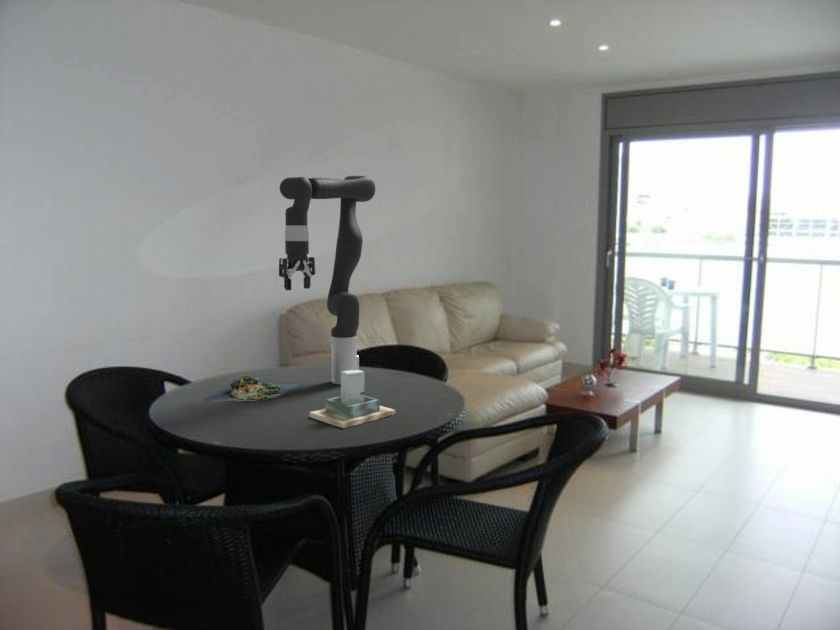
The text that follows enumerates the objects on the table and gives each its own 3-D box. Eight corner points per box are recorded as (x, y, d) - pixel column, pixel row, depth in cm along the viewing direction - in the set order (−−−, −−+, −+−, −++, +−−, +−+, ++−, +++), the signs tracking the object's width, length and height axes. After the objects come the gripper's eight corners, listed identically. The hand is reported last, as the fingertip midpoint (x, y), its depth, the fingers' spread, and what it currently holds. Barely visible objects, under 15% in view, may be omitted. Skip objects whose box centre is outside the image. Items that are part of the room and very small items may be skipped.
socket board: (360, 404, 213) (360, 389, 212) (395, 414, 202) (395, 398, 201) (309, 417, 198) (309, 400, 198) (343, 428, 187) (343, 411, 187)
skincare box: (347, 413, 197) (347, 373, 195) (340, 410, 200) (339, 371, 199) (365, 410, 200) (365, 371, 199) (358, 407, 204) (357, 368, 202)
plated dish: (269, 410, 208) (269, 387, 207) (188, 406, 214) (187, 383, 213) (311, 385, 242) (310, 366, 241) (240, 382, 248) (239, 363, 247)
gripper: (289, 240, 207) (290, 291, 210) (320, 239, 219) (321, 288, 221) (272, 239, 212) (273, 290, 214) (304, 239, 223) (304, 287, 225)
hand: (297, 289), depth 218 cm, fingers open, 8 cm apart
